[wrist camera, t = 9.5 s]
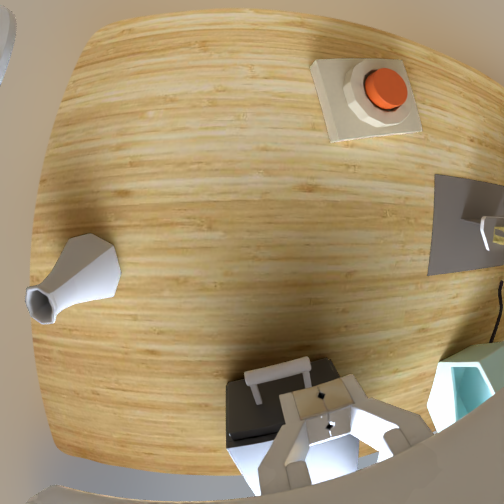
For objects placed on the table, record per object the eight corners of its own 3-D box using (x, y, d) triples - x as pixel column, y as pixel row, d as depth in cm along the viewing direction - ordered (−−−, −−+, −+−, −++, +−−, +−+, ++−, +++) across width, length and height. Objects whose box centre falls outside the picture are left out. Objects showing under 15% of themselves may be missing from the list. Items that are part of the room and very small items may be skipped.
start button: (370, 110, 21) (380, 106, 19) (359, 73, 20) (368, 67, 18) (402, 108, 21) (412, 105, 19) (391, 73, 20) (401, 68, 18)
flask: (123, 236, 25) (73, 267, 16) (122, 304, 27) (82, 357, 17) (64, 228, 25) (3, 252, 15) (66, 292, 26) (16, 334, 17)
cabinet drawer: (216, 353, 28) (213, 404, 21) (323, 326, 28) (349, 370, 21) (255, 446, 33) (260, 489, 25) (334, 426, 33) (350, 467, 25)
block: (330, 143, 25) (346, 137, 21) (309, 67, 23) (321, 51, 19) (411, 133, 25) (433, 129, 21) (392, 65, 23) (411, 54, 19)
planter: (420, 361, 38) (507, 360, 19) (453, 346, 38) (538, 334, 19) (429, 445, 33) (502, 477, 13) (460, 427, 33) (536, 445, 13)
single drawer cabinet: (225, 385, 30) (226, 448, 21) (330, 358, 31) (360, 414, 21) (254, 450, 34) (260, 502, 25) (337, 429, 34) (356, 477, 25)
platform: (503, 265, 30) (532, 277, 24) (427, 275, 29) (461, 295, 23) (511, 187, 27) (542, 192, 21) (434, 174, 26) (474, 176, 20)
